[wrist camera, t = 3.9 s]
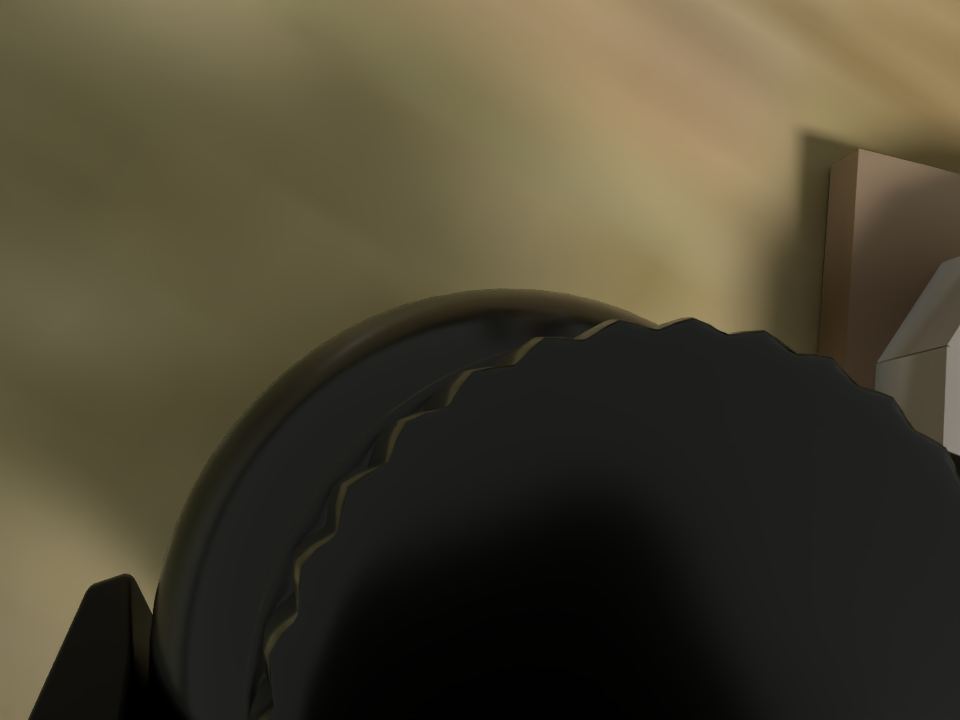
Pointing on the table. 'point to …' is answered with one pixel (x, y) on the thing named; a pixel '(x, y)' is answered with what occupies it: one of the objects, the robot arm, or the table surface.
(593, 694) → the supplement bottle
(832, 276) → the socket board
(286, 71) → the table surface
